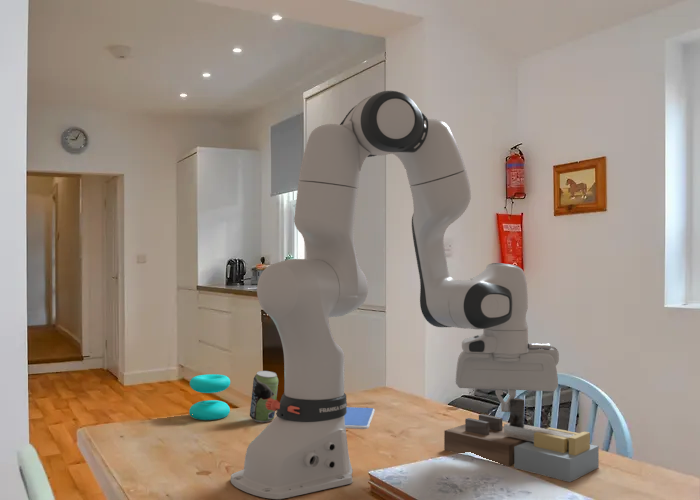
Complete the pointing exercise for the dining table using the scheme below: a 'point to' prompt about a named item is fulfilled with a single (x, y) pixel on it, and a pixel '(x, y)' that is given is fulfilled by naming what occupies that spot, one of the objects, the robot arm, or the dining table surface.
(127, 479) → the dining table surface
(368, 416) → the tablet computer
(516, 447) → the stacked blocks
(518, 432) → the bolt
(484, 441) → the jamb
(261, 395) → the beverage can
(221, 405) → the donuts
